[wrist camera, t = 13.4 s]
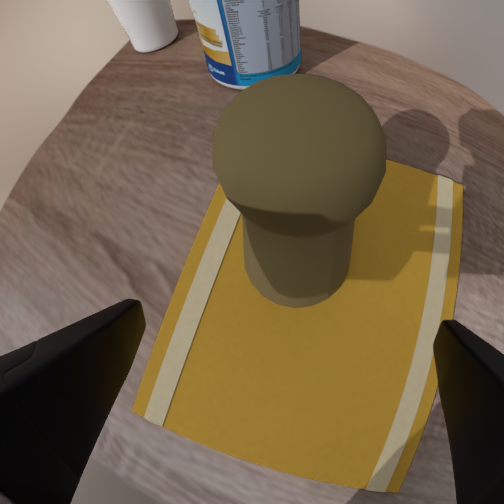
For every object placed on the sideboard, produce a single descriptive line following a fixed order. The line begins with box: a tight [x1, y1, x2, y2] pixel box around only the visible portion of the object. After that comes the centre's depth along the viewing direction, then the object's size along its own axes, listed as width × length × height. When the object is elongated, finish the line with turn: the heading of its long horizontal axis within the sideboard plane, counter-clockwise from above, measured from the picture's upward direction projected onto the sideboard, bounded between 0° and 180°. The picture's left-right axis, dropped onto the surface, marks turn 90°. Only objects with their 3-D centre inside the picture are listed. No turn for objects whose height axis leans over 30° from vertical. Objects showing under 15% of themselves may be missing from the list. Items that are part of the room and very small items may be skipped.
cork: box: [213, 73, 386, 308], centre depth 13 cm, size 6×6×11 cm
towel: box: [132, 159, 463, 493], centre depth 17 cm, size 20×16×1 cm
